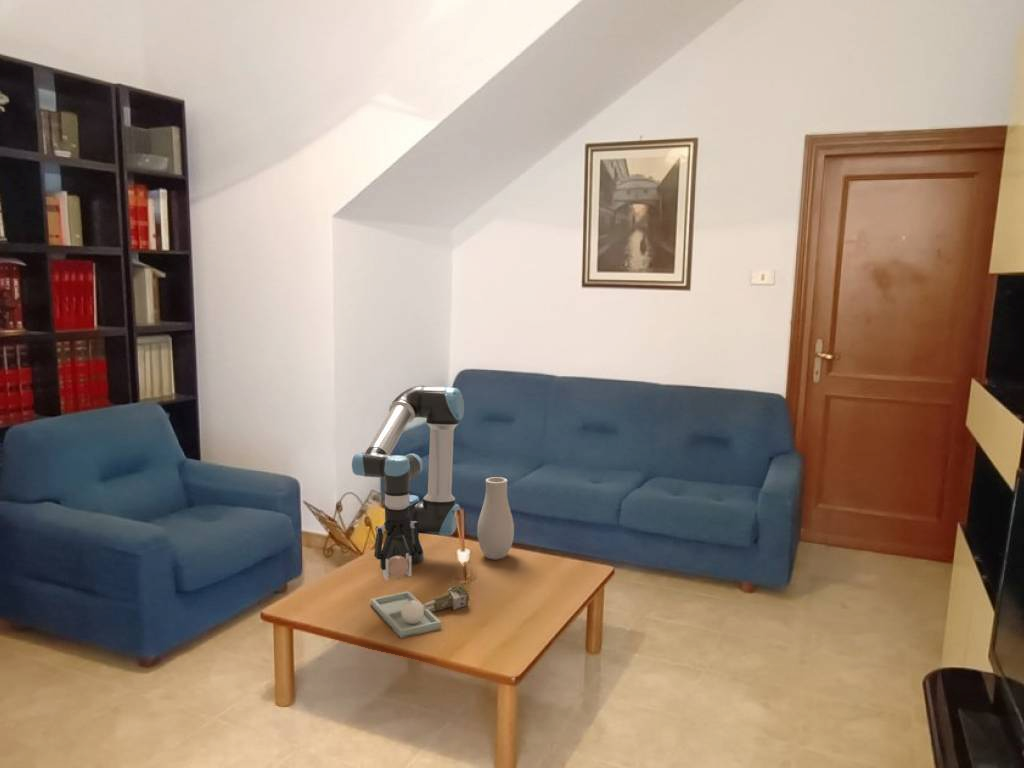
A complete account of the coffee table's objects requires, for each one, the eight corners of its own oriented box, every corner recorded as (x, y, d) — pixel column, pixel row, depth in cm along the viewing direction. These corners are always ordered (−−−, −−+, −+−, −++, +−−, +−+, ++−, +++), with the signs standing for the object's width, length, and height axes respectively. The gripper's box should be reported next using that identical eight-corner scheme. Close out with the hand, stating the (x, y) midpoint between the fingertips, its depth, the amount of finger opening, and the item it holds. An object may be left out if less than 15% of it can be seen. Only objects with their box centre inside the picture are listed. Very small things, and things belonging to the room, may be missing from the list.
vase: (500, 566, 280) (501, 487, 275) (469, 558, 287) (470, 480, 283) (520, 555, 291) (522, 478, 287) (490, 547, 299) (491, 472, 294)
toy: (429, 608, 237) (472, 592, 244) (420, 593, 242) (463, 578, 249) (428, 624, 241) (471, 608, 248) (420, 609, 246) (462, 594, 252)
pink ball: (412, 579, 241) (412, 558, 240) (391, 583, 237) (390, 561, 236) (403, 571, 247) (403, 550, 246) (382, 575, 243) (382, 554, 242)
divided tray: (408, 597, 253) (408, 591, 252) (441, 628, 231) (441, 621, 231) (370, 605, 246) (370, 599, 246) (400, 638, 225) (400, 631, 225)
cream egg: (418, 615, 238) (418, 594, 237) (427, 624, 232) (427, 602, 231) (397, 620, 235) (397, 598, 234) (406, 629, 229) (406, 607, 228)
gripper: (421, 498, 247) (421, 567, 250) (362, 507, 237) (363, 578, 240) (431, 505, 241) (431, 575, 244) (370, 514, 231) (371, 586, 234)
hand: (397, 576), depth 242 cm, fingers closed on pink ball, 7 cm apart
